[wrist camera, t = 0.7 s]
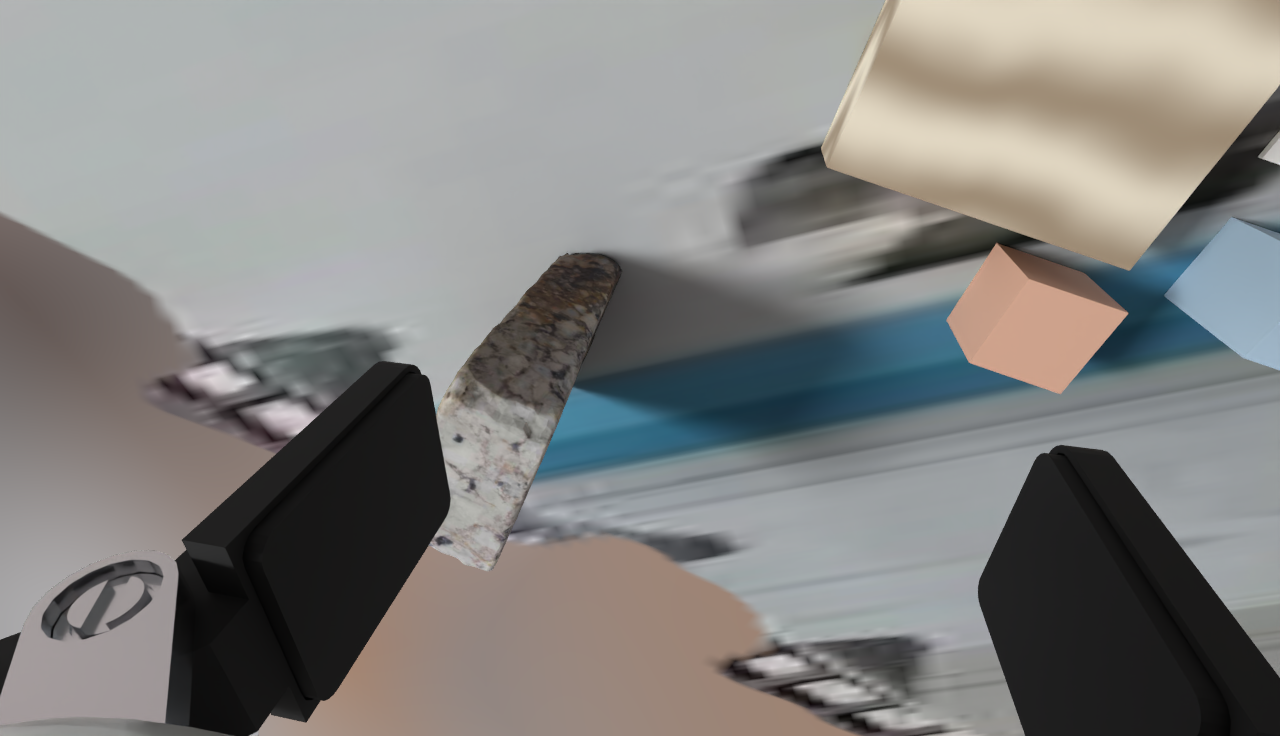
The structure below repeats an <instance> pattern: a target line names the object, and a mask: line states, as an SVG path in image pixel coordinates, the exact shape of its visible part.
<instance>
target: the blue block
mask: <svg viewBox="0 0 1280 736" xmlns="http://www.w3.org/2000/svg"><path fill="white" fill-rule="evenodd" d="M1164 297H1166V298H1167V299H1168V300H1170V301H1171V302H1172V303H1173V304H1175V305H1176V306H1177V307H1179V308H1180V309H1181V310H1182V311H1184V312H1185V313H1186V314H1188V315H1189V316H1190V317H1191V318H1193V319H1194V320H1195V321H1196V322H1198V323H1199V324H1200V325H1202V326H1203V327H1204V328H1205V329H1207V330H1208V331H1209V332H1211V333H1212V334H1213V335H1214V336H1216V337H1217V338H1218V339H1220V340H1221V341H1222V342H1223V343H1225V344H1226V345H1227V346H1229V347H1230V348H1231V349H1232V350H1234V351H1235V352H1236V353H1237V354H1239V355H1240V356H1241V357H1243V358H1245V359H1248V360H1251V361H1254V362H1257V363H1260V364H1263V365H1265V366H1268V367H1271V368H1274V369H1277V370H1280V233H1277V232H1274V231H1271V230H1268V229H1265V228H1262V227H1259V226H1256V225H1253V224H1251V223H1248V222H1245V221H1242V220H1239V219H1236V218H1233V217H1231V218H1230V219H1229V221H1228V222H1227V223H1226V224H1225V225H1224V226H1223V228H1222V229H1221V230H1220V231H1219V232H1218V233H1217V235H1216V236H1215V237H1214V238H1213V239H1212V240H1211V241H1210V243H1209V244H1208V245H1207V246H1206V247H1205V248H1204V250H1203V251H1202V252H1201V253H1200V254H1199V255H1198V256H1197V258H1196V259H1195V260H1194V261H1193V262H1192V263H1191V265H1190V266H1189V267H1188V268H1187V269H1186V270H1185V271H1184V273H1183V274H1182V275H1181V276H1180V277H1179V278H1178V280H1177V281H1176V282H1175V283H1174V284H1173V285H1172V286H1171V288H1170V289H1169V290H1168V291H1167V292H1166V293H1165V295H1164Z"/></svg>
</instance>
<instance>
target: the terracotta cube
mask: <svg viewBox="0 0 1280 736" xmlns="http://www.w3.org/2000/svg"><path fill="white" fill-rule="evenodd" d="M1127 315H1128V312H1127V311H1126V310H1125V309H1124V308H1123V307H1121V306H1120V305H1119V304H1118V303H1117V302H1116V301H1115V300H1114V299H1113V298H1111V297H1110V296H1109V295H1108V294H1107V293H1106V292H1105V291H1104V290H1103V289H1101V288H1100V287H1099V286H1098V285H1097V284H1096V283H1095V282H1094V281H1093V280H1091V279H1090V278H1089V277H1088V276H1087V275H1086V274H1085V273H1083V272H1080V271H1077V270H1074V269H1071V268H1068V267H1065V266H1063V265H1060V264H1057V263H1054V262H1051V261H1048V260H1045V259H1042V258H1039V257H1036V256H1033V255H1030V254H1027V253H1024V252H1022V251H1019V250H1016V249H1013V248H1010V247H1007V246H1004V245H1001V244H998V243H996V245H995V246H994V248H993V249H992V251H991V253H990V254H989V256H988V257H987V259H986V260H985V262H984V263H983V265H982V266H981V268H980V269H979V271H978V272H977V274H976V275H975V277H974V279H973V280H972V282H971V283H970V285H969V286H968V288H967V289H966V291H965V292H964V294H963V295H962V297H961V298H960V300H959V301H958V303H957V305H956V306H955V308H954V309H953V311H952V312H951V314H950V315H949V317H948V318H947V322H948V324H949V326H950V328H951V329H952V331H953V333H954V335H955V337H956V339H957V341H958V343H959V344H960V346H961V348H962V350H963V352H964V354H965V356H966V358H967V360H968V361H969V363H971V364H974V365H977V366H980V367H983V368H986V369H989V370H992V371H995V372H998V373H1000V374H1003V375H1006V376H1009V377H1012V378H1015V379H1018V380H1021V381H1024V382H1027V383H1030V384H1033V385H1036V386H1038V387H1041V388H1044V389H1047V390H1050V391H1053V392H1056V393H1059V394H1061V393H1062V392H1063V390H1064V389H1065V388H1066V387H1067V386H1068V384H1069V383H1070V382H1071V381H1072V380H1073V379H1074V377H1075V376H1076V375H1077V374H1078V373H1079V371H1080V370H1081V369H1082V368H1083V367H1084V366H1085V364H1086V363H1087V362H1088V361H1089V360H1090V358H1091V357H1092V356H1093V355H1094V354H1095V352H1096V351H1097V350H1098V349H1099V348H1100V347H1101V345H1102V344H1103V343H1104V342H1105V341H1106V339H1107V338H1108V337H1109V336H1110V335H1111V334H1112V332H1113V331H1114V330H1115V329H1116V328H1117V326H1118V325H1119V324H1120V323H1121V322H1122V321H1123V319H1124V318H1125V317H1126V316H1127Z"/></svg>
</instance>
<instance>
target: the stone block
mask: <svg viewBox="0 0 1280 736" xmlns="http://www.w3.org/2000/svg"><path fill="white" fill-rule="evenodd" d="M567 252H568V251H567ZM621 273H622V271H621V269H620V266H619V265H618V264H617V263H616V262H615V261H613V260H611V259H609V258H607V257H605V256H603V255H600V254H590V253H586V254H579V253H575V254H574V255H569V254H568V253H567V254H565V255H564V256H560V257H558V259H557V260H556V261H555V262H554V263H553V264H552V265H551V266H550V267H549V268H548V270H547V271H546V272H544V273H543V274H542V275H541V277H540V278H539V280H538V281H537V282H536V284H534V285H533V286H532V287H531V288H529V289H528V290H527V291H526V293H525V294H524V295H523V296H522V298H521V299H520V301H519V302H518V303H517V305H516V306H515V307H514V308H513V309H512V310H511V311H510V312H509V313H508V314H507V315H506V316H505V318H504V319H503V320H502V322H501V323H500V324H498V325H497V326H495V327H494V328H493V329H492V331H491V332H490V333H489V334H488V335H487V337H486V338H485V339H484V341H483V342H482V343H481V345H480V346H479V347H477V348H476V349H475V350H474V351H473V353H472V354H471V356H470V357H469V358H468V360H467V361H466V363H465V364H464V365H463V366H462V368H461V369H460V370H459V371H458V373H457V374H456V376H455V378H454V380H453V382H452V383H451V385H450V386H449V388H448V389H447V391H446V393H445V395H444V397H443V399H442V401H441V403H440V405H439V407H438V411H437V414H436V418H437V424H438V429H439V435H440V440H441V446H442V451H443V457H444V462H445V468H446V474H447V479H448V485H449V490H450V497H451V502H450V508H449V512H448V515H447V517H446V519H445V520H444V522H443V523H442V525H441V527H440V528H439V530H438V531H437V533H436V534H435V536H434V538H433V539H432V541H431V542H430V544H429V546H432V547H433V548H435V549H436V550H437V551H439V552H442V553H444V554H447V555H452V556H454V557H456V558H458V559H459V560H460V561H461V562H462V563H463V564H464V565H468V566H474V567H477V568H480V569H483V570H485V571H490V570H492V569H493V568H494V566H495V565H496V563H497V561H498V558H499V556H500V554H501V552H502V550H503V547H504V545H505V543H506V541H507V538H508V536H509V534H510V532H511V530H512V528H513V525H514V523H515V521H516V519H517V517H518V514H519V512H520V510H521V507H522V505H523V503H524V500H525V498H526V496H527V494H528V491H529V489H530V487H531V484H532V482H533V480H534V477H535V475H536V473H537V470H538V468H539V466H540V464H541V462H542V460H543V457H544V455H545V452H546V450H547V448H548V445H549V443H550V441H551V438H552V436H553V433H554V431H555V429H556V427H557V424H558V422H559V419H560V417H561V414H562V412H563V409H564V407H565V404H566V402H567V400H568V397H569V395H570V392H571V390H572V387H573V385H574V383H575V381H576V377H577V375H578V372H579V370H580V367H581V364H582V362H583V360H584V358H585V357H586V355H587V353H588V350H589V348H590V346H591V344H592V341H593V339H594V336H595V333H596V330H597V328H598V326H599V323H600V321H601V319H602V317H603V314H604V312H605V310H606V307H607V305H608V303H609V301H610V299H611V297H612V294H613V292H614V289H615V287H616V285H617V282H618V280H619V278H620V275H621Z"/></svg>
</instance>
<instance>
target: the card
mask: <svg viewBox="0 0 1280 736" xmlns="http://www.w3.org/2000/svg"><path fill="white" fill-rule="evenodd" d="M1258 158H1261V159H1264V160H1267V161H1270V162H1273V163H1276V164H1279V165H1280V131H1279V132H1278V133H1277V134H1276V135H1275V137H1274V138H1273V139H1272V140H1271V141H1270V143H1269V144H1268V145H1267V146H1266V147H1265V149H1264V150H1263V151H1262V152H1261V153H1260V154H1259V156H1258Z"/></svg>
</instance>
